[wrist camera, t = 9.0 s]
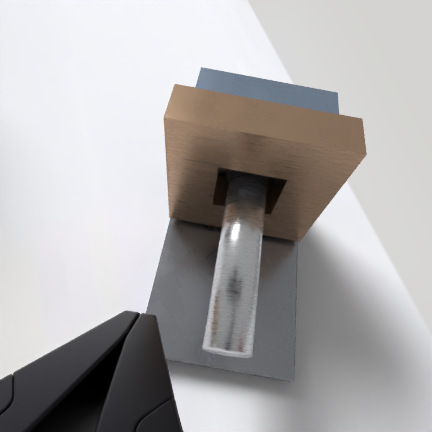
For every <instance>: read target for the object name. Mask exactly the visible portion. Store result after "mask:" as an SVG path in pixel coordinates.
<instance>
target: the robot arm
mask: <svg viewBox="0 0 432 432" xmlns="http://www.w3.org/2000/svg"><path fill="white" fill-rule="evenodd" d="M0 432H183V429H182V426H181V422H180V418H179V414H178V410H177V406H176V402H175V399H174V393H173V389H172V384H171V380H170V375H169V371H168V366H167V362H166V357H165V353H164V348H163V344H162V339H161V335H160V331H159V326H158V322H157V317H156V316H155V315H152V314H146V313H142V314H141V315H140V313H138V312H132V311H124V312H122V313H120V314H118V315H117V316H115V317H113V318H111V319H109V320H107V321H106V322H104V323H102V324H100V325H98V326H97V327H95V328H93V329H91V330H89V331H88V332H86V333H84V334H82V335H80V336H79V337H77V338H75V339H73V340H71V341H70V342H68V343H66V344H64V345H62V346H61V347H59V348H57V349H55V350H53V351H52V352H50V353H48V354H46V355H44V356H43V357H41V358H39V359H37V360H35V361H34V362H32V363H30V364H28V365H26V366H25V367H23V368H21V369H19V370H17V371H16V372H14V373H13V375H12V374H10V375H8V376H6V377H4V378H3V379H1V380H0Z"/></svg>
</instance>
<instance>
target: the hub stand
mask: <svg viewBox="0 0 432 432" xmlns="http://www.w3.org/2000/svg"><path fill="white" fill-rule="evenodd" d="M196 88H199V89H205V90H210V91H216V92H221V93H226V94H232V95H237V96H242V97H248V98H253V99H259V100H264V101H269V102H275V103H280V104H285V105H291V106H296V107H302V108H307V109H312V110H318V111H323V112H329V113H334V114H339V108H338V93H336V92H330V91H325V90H319V89H314V88H309V87H304V86H298V85H293V84H288V83H283V82H277V81H272V80H266V79H261V78H256V77H250V76H245V75H240V74H234V73H229V72H224V71H218V70H213V69H207V68H202V67H201V70H200V74H199V77H198V81H197V84H196ZM218 175H220V176H225V177H226V179H227V181H228V183H229V185H228V191H227V197H226V203H225V210H224V216H223V222H222V227H216V226H211V225H205V224H200V223H194V222H189V221H183V220H178V219H172V218H170V222H169V226H168V230H167V234H166V238H165V241H164V245H163V249H162V253H161V257H160V261H159V265H158V269H157V272H156V276H155V280H154V284H153V288H152V292H151V296H150V300H149V303H148V307H147V311H146V314H152V315H155V316H156V317H157V322H158V326H159V331H160V335H161V339H162V344H163V348H164V353H165V357H166V360H172V361H177V362H183V363H189V364H194V365H200V366H206V367H211V368H217V369H223V370H228V371H234V372H240V373H245V374H251V375H257V376H262V377H268V378H274V379H279V380H285V381H294V367H295V323H296V279H297V241H294V240H288V239H283V238H277V237H272V236H266V235H263V226H264V214H265V202H266V191H267V187H268V186H269V185H273V183H274V181H275V179H276V178H274V177H269V176H263V175H258V174H252V173H247V172H241V171H236V170H231V169H225V168H220V167H219V170H218Z"/></svg>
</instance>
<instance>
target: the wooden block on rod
mask: <svg viewBox="0 0 432 432" xmlns="http://www.w3.org/2000/svg"><path fill="white" fill-rule="evenodd" d="M164 129H165V147H166V164H167V182H168V199H169V217H170V218H172V219H178V220H183V221H189V222H194V223H200V224H205V225H211V226H216V227H222V222H223V216H224V210H225V203H226V197H227V191H228V185H229V183H228V181H227V179H226V177H225V176H220V175H218V170H219V167H220V168H225V169H231V170H236V171H241V172H247V173H252V174H258V175H263V176H269V177H274V178H276V179H275V181H274V183H273V185H269V186H268V187H267V191H266V202H265V214H264V226H263V235H266V236H272V237H277V238H283V239H288V240H294V241H300V240H301V239H302V238H303V236H304V235H305V234H306V232H307V231H308V230H309V228H310V227H311V226H312V225H313V223H314V222H315V221H316V219H317V218H318V217H319V216H320V214H321V213H322V212H323V210H324V209H325V208H326V206H327V205H328V204H329V203H330V201H331V200H332V199H333V197H334V196H335V195H336V194H337V192H338V191H339V190H340V188H341V187H342V186H343V184H344V183H345V182H346V181H347V179H348V178H349V177H350V175H351V174H352V173H353V171H354V170H355V169H356V168H357V166H358V165H359V164H360V162H361V161H362V160H363V158H364V157H365V156H366V146H365V139H364V129H363V121H362V119H361V118H355V117H350V116H344V115H339V114H334V113H329V112H323V111H318V110H312V109H307V108H302V107H296V106H291V105H285V104H280V103H275V102H269V101H264V100H259V99H253V98H248V97H242V96H237V95H232V94H226V93H221V92H216V91H210V90H205V89H199V88H194V87H189V86H183V85H178V84H175V85H174V88H173V91H172V94H171V97H170V100H169V103H168V106H167V109H166V112H165V115H164Z"/></svg>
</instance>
